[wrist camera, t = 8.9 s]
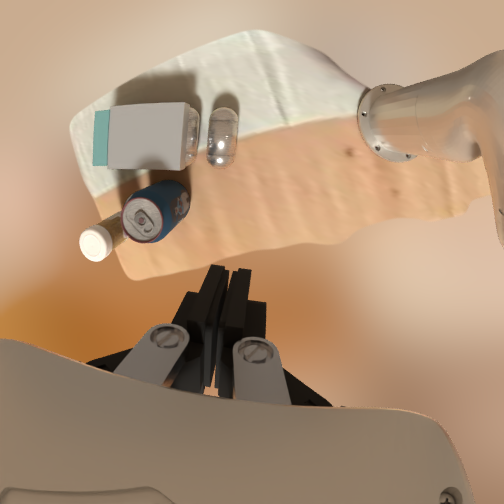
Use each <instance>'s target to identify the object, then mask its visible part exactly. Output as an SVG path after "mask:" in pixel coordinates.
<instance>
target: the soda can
mask: <svg viewBox="0 0 504 504" xmlns="http://www.w3.org/2000/svg"><path fill="white" fill-rule="evenodd" d="M189 208H190V197H189V194H188V192H187V190H186V189H185V188H184V186H183V185H181V184H180V183H178V182H176V181H173V180H163V181H160V182H158V183H155V184H153V185H151V186H148V187H146V188H144V189H141V190H139V191H137V192H135V193H133V194H132V195H131V196H130V197H129V198H128V199H127V200H126V202H125V204H124V207H123V209H122V212H121V225H122V228H123V230H124V232H125V233H126V235H127V236H128V237H129V238H130V239H132V240H133V241H135V242H138V243H154V242H158V241H160V240H161V239H163V238H164V237H165V236H166V235H167V234H168V233H169V232H170V231H171V230H172V229H173V228H174V227H175V226H176V225H177V224H178V223H179V222H180V221H181V220H183V219H184V218H185V216H186V215H187V213H188V211H189Z"/></svg>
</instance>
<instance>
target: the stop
mask: <svg viewBox="0 0 504 504" xmlns="http://www.w3.org/2000/svg"><path fill="white" fill-rule="evenodd" d="M109 120H110V110H104V111H95V121H94V139H93V166H108V136H109Z"/></svg>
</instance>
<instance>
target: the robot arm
mask: <svg viewBox="0 0 504 504" xmlns="http://www.w3.org/2000/svg"><path fill="white" fill-rule="evenodd" d="M381 89H382V90H383V91H381ZM362 113H363V114H364V116H362ZM358 126H359V130H360V133H361V135H362V138H363V140H364V141H365V143H366V145H367V146H368V147H369V148H370V149H371V151H373V152H374V153H375V154H376V155H377V156H379V157H381V158H383V159H385V160H388V161H392V162H407V161H410V160H412V159H414V158H415V157H417V156H418V155H419V156H425V157H431V158H437V159H442V160H448V161H452V162H459V163H465V162H470V161H473V160H475V159H477V158H479V157H480V156H482V157H483V161H484V165H485V169H486V170H487V175H488V180H489V185H490V190H491V196H492V202H493V207H494V215H495V223H496V229H497V233H498V237H499V240H500V243H501V244H502V247H503V248H504V50H499V51H496V52H493V53H491V54H489V55H486V56H484V57H482V58H481V59H479V60H477V61H475V62H474V63H472V64H470V65H468V66H467V67H465V68H462V69H460V70H458V71H455V72H452V73H449V74H447V75H443V76H440V77H437V78H433V79H430V80H427V81H423V82H420V83H417V84H414V85H410V86H407V87H402V86H399V85H395V84H383V85H379V86H377V87H375V88H373V89H371V90H370V91H369V92H368V93H367V94H366V95H365V96H364V97H363V99H362V100H361V103H360V106H359V109H358ZM375 147H377V149H375ZM406 154H407V157H406ZM251 271H252V270H248V269H241V268H239V269H238V271H233V273H232V277H231V280H230V284H229V288H228V279H229V270H225V267H224V266H219V265H212V264H211V266H210V269H209V271H208V273H207V275H206V278H205V280H204V282H203V284H202V287H201V289H200V291H199V293H196V292H190V291H188V292H187V293H186V295H185V297H184V299H183V301H182V303H181V305H180V307H179V309H178V311H177V313H176V315H175V317H174V319H173V321H172V323H171V324H159V325H156V326H154V327H152V328H151V329H149V330H148V331H147V333H146V334H145V335H144V336H143V337H142V339H140V341H139V342H138V343H137V344H136V345H135V347H134V348H131V349H128V350H125V351H121V352H118V353H115V354H112V355H108V356H105V357H102V358H98V359H95V360H92V361H89V362H88V363H86V364H84V363H81V362H80V361H76V360H73V359H70V358H67V357H65V356H62V355H60V354H57V353H54V352H51V351H48V350H46V349H43V348H41V347H38V346H35V345H33V344H29V343H26V342H23V341H17V340H12V339H0V504H475V501H474V497H473V493H472V490H471V487H470V483H469V480H468V477H467V474H466V472H465V469H464V466H463V464H462V461H461V459H460V456H459V454H458V452H457V450H456V447H455V445H454V444H453V442H452V440H451V438H450V436H449V435H448V433H447V431H446V430H445V429H444V427H443V426H442V425H441V424H440V423H439V422H438V421H436V420H434V419H433V418H431V417H428V416H426V415H423V414H421V413H417V412H413V411H409V410H403V409H394V408H379V407H345V406H341V407H333V406H332V405H331V404H330V403H329V402H328V401H327V400H326V399H324V398H323V397H322V396H320V395H319V394H317V393H316V392H314V391H313V390H312V389H311V388H309V387H308V386H306V385H305V384H304V383H302V382H301V381H299V380H298V379H297V378H296V377H294V376H293V375H292V374H290V373H289V372H288V371H286V370H285V369H284V368H282V364H281V360H280V356H279V352H278V350H277V347H276V346H275V345H274V344H273V343H272V342H270V341H268V340H266V339H265V334H266V302H258V301H251V300H248V293H249V286H250V278H251ZM227 290H228V291H227ZM215 365H216V370H215V388H218V395H219V397H216V396H210V395H204V394H203V393H204V389H205V386H206V387H210V386H211V382H212V377H213V373H214V369H215ZM198 393H199V394H198Z"/></svg>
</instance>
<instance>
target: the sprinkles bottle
mask: <svg viewBox="0 0 504 504" xmlns="http://www.w3.org/2000/svg"><path fill="white" fill-rule="evenodd" d="M121 212H122V211H119V212H117V213H116V214H114V215H112V216H110V217H108V218H107V219H105V220H103V221H102V222H100V223H98V224H97V225H93V226H91V227H89V228H87V229H86V230H84V231H83V232H82V234H81V236H80V248H81V250H82V252H83V254H84V255H85V256H86V257H87V258H88V259H89V260H92V261H100V260H102V259H104V258H105V257H106V256H108V255H109V254H110V252H111V251H112V250H113V249H114V248H116V247H117V246H118V245H120V244H121V243H123V242H124V241H126V240H127V239H128V238H129V237H128V236H127V235H126V233H125V232H124V230H123V228H122V225H121Z"/></svg>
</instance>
